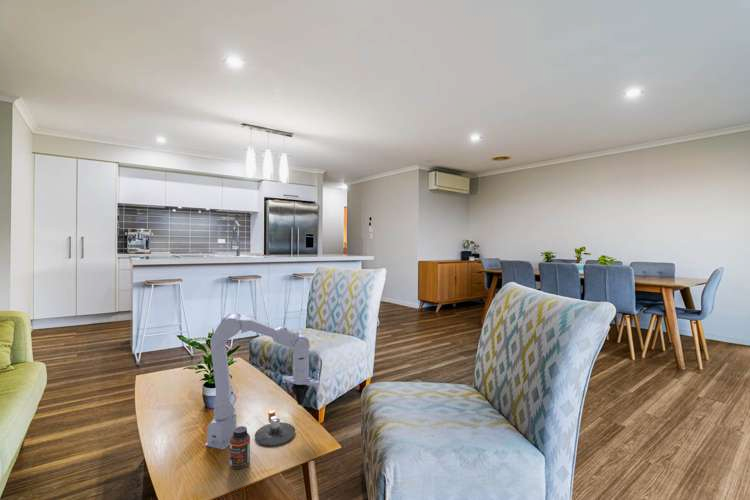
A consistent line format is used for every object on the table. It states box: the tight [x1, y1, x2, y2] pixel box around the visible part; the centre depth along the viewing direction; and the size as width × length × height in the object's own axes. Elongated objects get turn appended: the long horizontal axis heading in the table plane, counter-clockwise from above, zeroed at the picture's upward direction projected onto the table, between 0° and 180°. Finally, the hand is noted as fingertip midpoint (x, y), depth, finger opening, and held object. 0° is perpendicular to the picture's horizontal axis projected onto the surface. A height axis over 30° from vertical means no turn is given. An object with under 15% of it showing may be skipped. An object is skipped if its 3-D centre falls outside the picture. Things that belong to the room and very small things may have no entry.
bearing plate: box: [254, 422, 296, 447], centre depth 129 cm, size 14×14×1 cm
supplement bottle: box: [229, 425, 251, 470], centre depth 112 cm, size 6×6×11 cm
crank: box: [267, 409, 281, 434], centre depth 131 cm, size 9×3×5 cm, turn 28°
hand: (300, 403), depth 132 cm, fingers closed
